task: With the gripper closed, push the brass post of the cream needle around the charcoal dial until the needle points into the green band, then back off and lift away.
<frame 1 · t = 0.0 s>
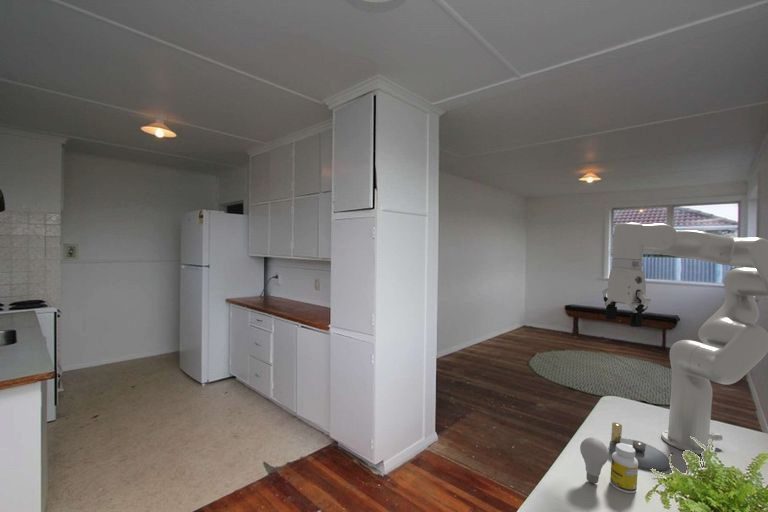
hand: (622, 322, 107), 37 cm above the table, tool pointing down, fingers open, 9 cm apart
lightbulb: (592, 483, 89), on the table
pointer: (628, 436, 104), point 5 cm above the table, hinge at -35.0°
dial plate: (638, 455, 103), on the table
supplement bottle: (622, 487, 89), on the table
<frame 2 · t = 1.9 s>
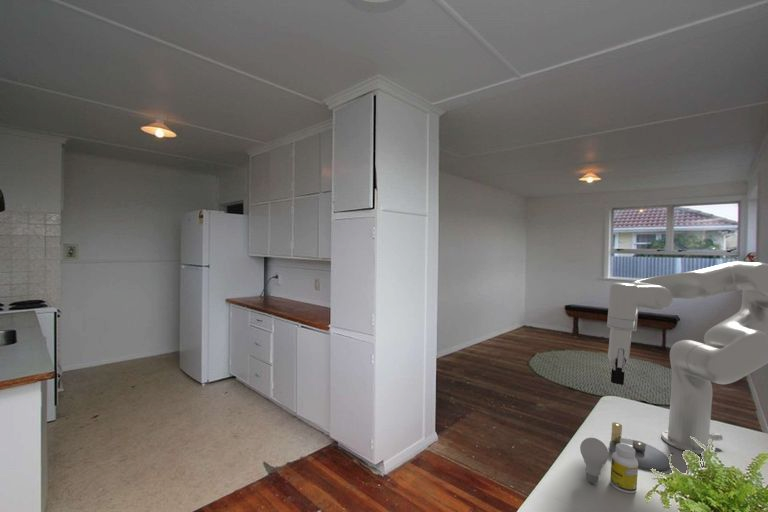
hand: (617, 383, 110), 18 cm above the table, tool pointing down, fingers closed
nothing on the table moved.
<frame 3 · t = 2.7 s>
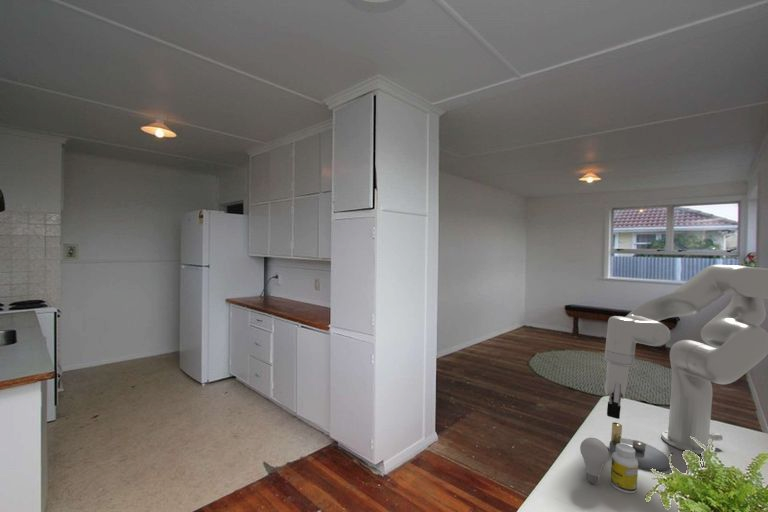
hand: (613, 416, 111), 7 cm above the table, tool pointing down, fingers closed
nothing on the table moved.
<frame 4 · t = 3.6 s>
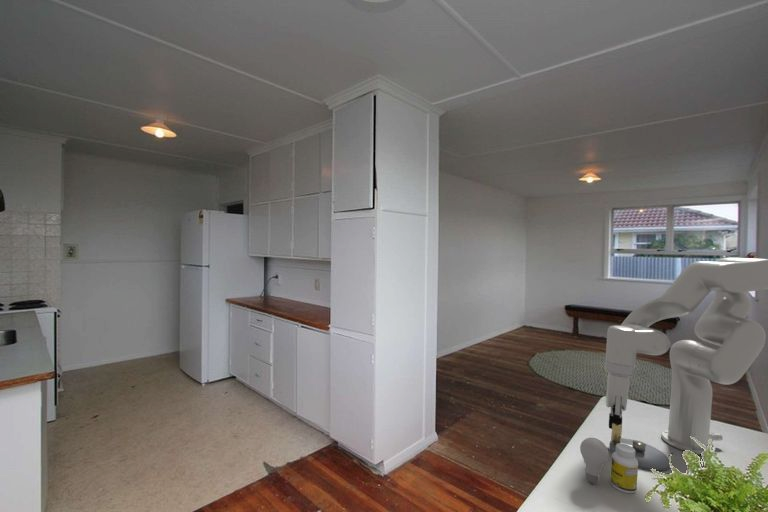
hand: (614, 428, 108), 5 cm above the table, tool pointing down, fingers closed
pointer: (628, 436, 104), point 5 cm above the table, hinge at -35.0°, touching gripper
everything else where it was.
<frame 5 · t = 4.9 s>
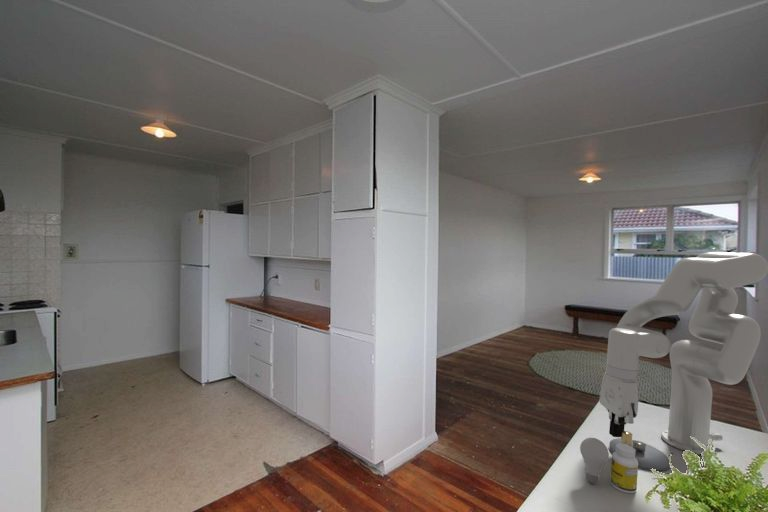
hand: (616, 435, 104), 5 cm above the table, tool pointing down, fingers closed
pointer: (633, 441, 102), point 5 cm above the table, hinge at 16.7°, touching gripper
everything else where it was.
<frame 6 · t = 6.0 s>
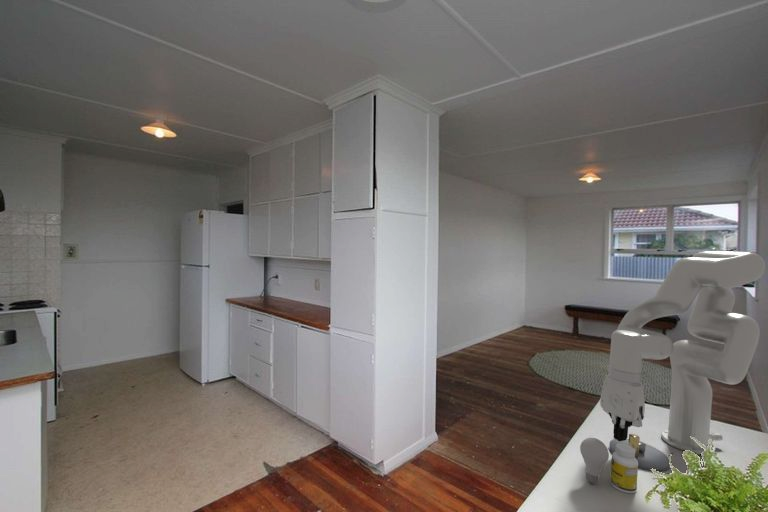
hand: (620, 439, 102), 5 cm above the table, tool pointing down, fingers closed
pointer: (636, 442, 101), point 5 cm above the table, hinge at 35.8°
everything else where it was.
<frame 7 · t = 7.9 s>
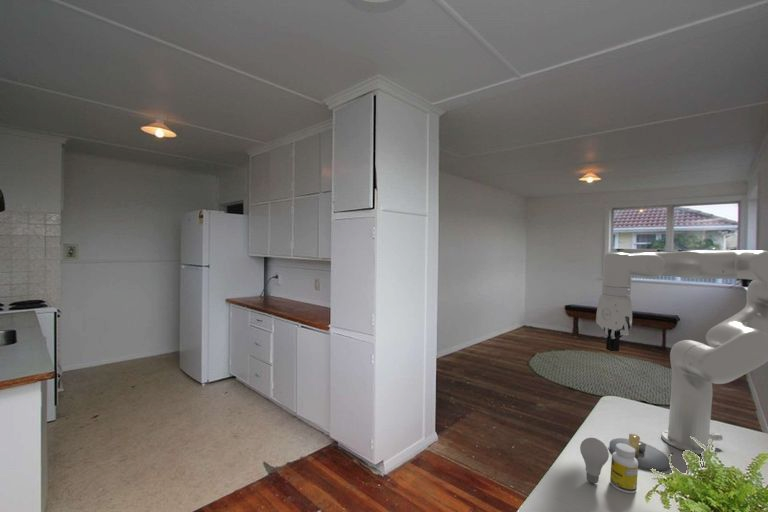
hand: (612, 350, 113), 27 cm above the table, tool pointing down, fingers closed
nothing on the table moved.
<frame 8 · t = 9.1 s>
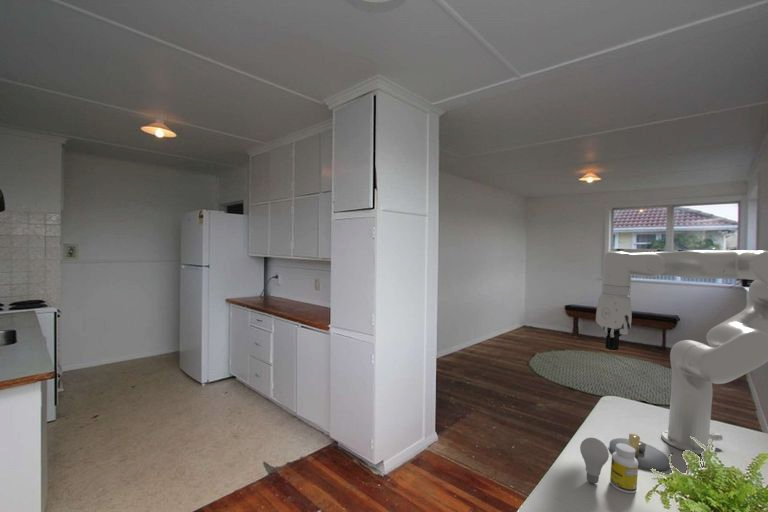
hand: (611, 349, 114), 27 cm above the table, tool pointing down, fingers closed
nothing on the table moved.
at the end: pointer at +36° (first picture: -35°); the gripper is holding nothing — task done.
